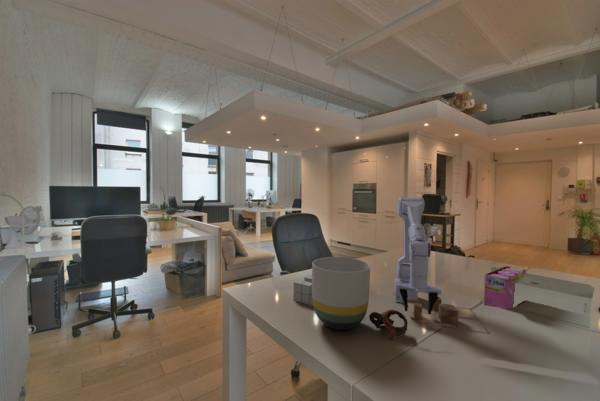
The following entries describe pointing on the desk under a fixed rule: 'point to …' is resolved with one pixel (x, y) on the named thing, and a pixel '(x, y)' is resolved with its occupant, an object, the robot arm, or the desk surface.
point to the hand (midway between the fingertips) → (417, 311)
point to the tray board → (464, 318)
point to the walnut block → (448, 314)
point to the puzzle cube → (303, 290)
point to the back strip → (460, 311)
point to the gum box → (501, 287)
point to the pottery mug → (389, 322)
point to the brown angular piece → (427, 316)
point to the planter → (340, 291)
